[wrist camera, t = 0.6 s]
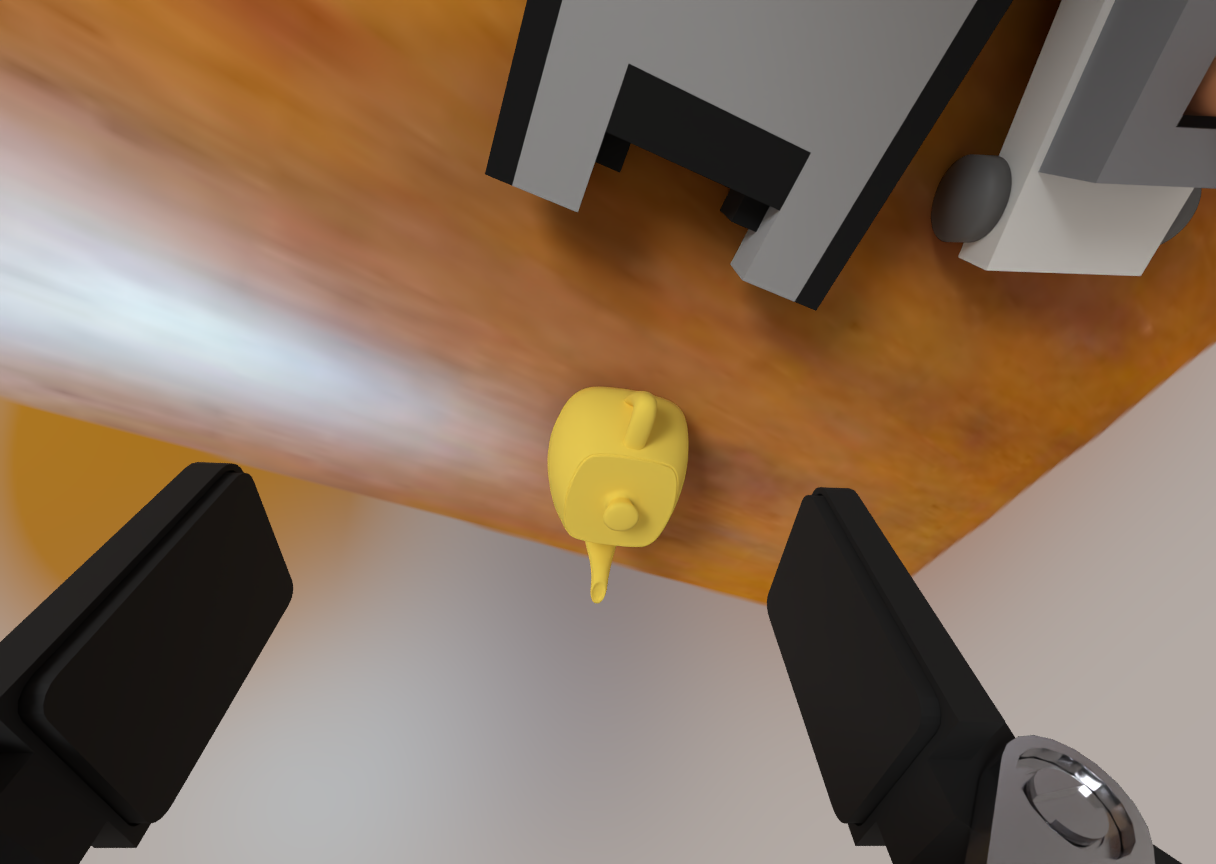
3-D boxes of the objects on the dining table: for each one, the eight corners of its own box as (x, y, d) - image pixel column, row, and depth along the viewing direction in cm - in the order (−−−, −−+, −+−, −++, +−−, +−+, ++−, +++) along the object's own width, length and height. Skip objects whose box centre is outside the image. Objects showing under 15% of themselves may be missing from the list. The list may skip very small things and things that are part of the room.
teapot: (649, 523, 51) (662, 617, 42) (536, 508, 49) (524, 601, 40) (706, 357, 41) (737, 433, 32) (567, 332, 40) (560, 403, 31)
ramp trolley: (1065, -171, 26) (1432, -370, 15) (1313, -152, 26) (1850, -330, 15) (916, 246, 37) (1059, 317, 26) (1093, 253, 37) (1309, 325, 26)
